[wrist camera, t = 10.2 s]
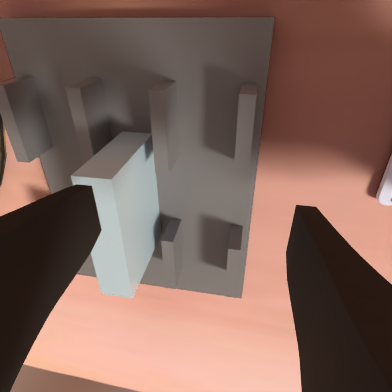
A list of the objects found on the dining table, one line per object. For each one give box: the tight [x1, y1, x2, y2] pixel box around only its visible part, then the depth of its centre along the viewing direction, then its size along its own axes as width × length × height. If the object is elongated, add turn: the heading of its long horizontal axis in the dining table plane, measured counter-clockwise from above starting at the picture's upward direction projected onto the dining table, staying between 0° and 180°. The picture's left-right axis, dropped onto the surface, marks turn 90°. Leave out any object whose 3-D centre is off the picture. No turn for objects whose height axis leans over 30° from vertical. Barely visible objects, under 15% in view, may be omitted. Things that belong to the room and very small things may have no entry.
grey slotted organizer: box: [0, 17, 275, 298], centre depth 20 cm, size 15×20×4 cm
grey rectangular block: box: [71, 132, 161, 298], centre depth 18 cm, size 2×8×6 cm, turn 0°
